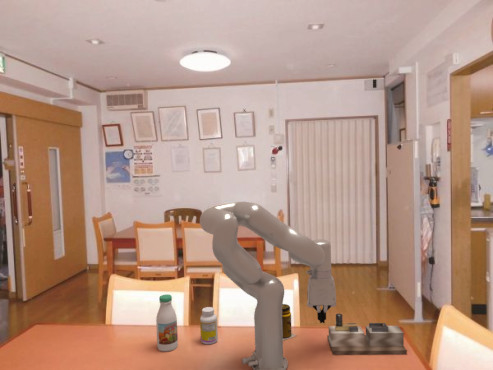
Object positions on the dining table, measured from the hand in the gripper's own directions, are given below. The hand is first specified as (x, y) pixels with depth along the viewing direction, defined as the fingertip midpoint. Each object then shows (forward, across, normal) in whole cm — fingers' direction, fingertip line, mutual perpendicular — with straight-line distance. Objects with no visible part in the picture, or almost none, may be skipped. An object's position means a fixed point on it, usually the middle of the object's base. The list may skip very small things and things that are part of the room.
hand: (321, 321), depth 141 cm
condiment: (+10, -15, +9) cm, 20 cm away
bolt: (+3, +9, 0) cm, 9 cm away
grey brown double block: (+10, +16, 0) cm, 19 cm away
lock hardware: (+3, +17, 0) cm, 17 cm away
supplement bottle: (+10, -43, +5) cm, 45 cm away
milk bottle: (+10, -59, +1) cm, 60 cm away
